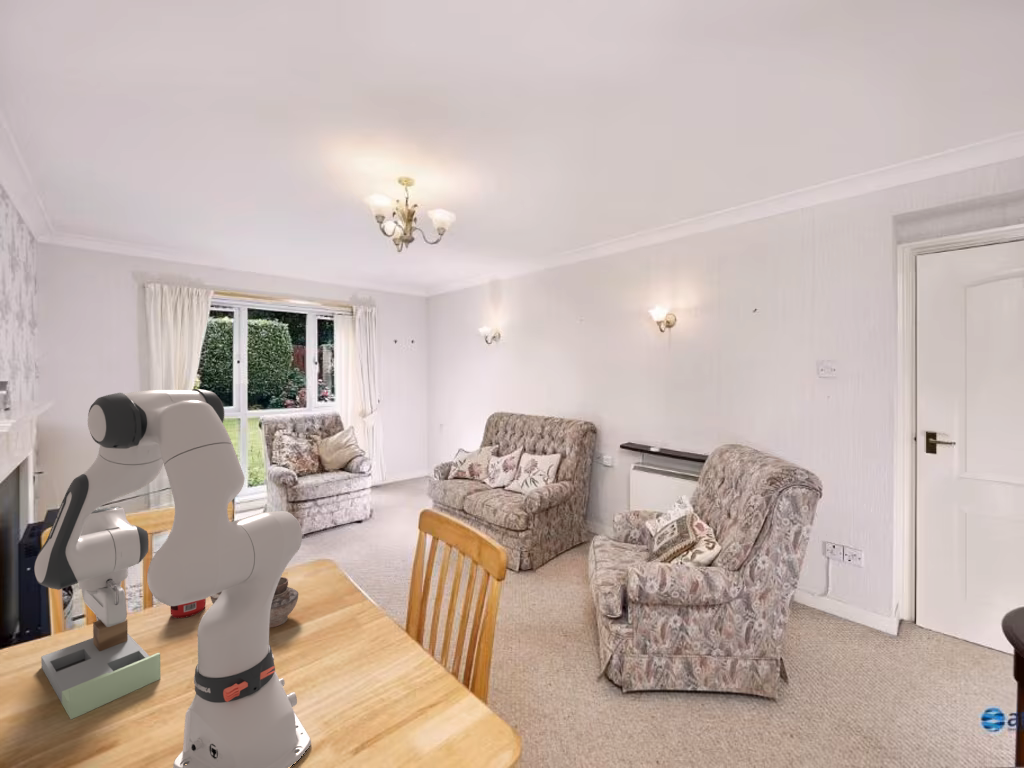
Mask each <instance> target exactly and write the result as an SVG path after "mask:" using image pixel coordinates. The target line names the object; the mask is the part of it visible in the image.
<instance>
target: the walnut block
mask: <svg viewBox="0 0 1024 768" xmlns="http://www.w3.org/2000/svg"><path fill="white" fill-rule="evenodd" d="M92 625H93V626H92V627H93V628H92V630H93V631H92V632H93V633H92V638H93V644H94V645H95V646H96V648H97V649H98V650H99V651H102V650H105V649H107V648H110V647H113V646H115V645H118V644H120V643H123V642H126V641H128V634H129V633H128V629H129V628H128V619H127V618H126V620H125V621H124V622H122V623H119V624H117V625H114V626H111V627H106V626H105V625H104V623H103V622H102V621H101V620H99V621H97V620H95V621H93V622H92Z"/></svg>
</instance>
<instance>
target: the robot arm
mask: <svg viewBox="0 0 1024 768" xmlns="http://www.w3.org/2000/svg"><path fill="white" fill-rule="evenodd" d="M224 421H225V407H224V403H223V401H222V400H221V398H220V397H219V396H218V395H217V394H216V393H215V392H213V391H211V390H206V389H199V388H194V389H190V390H189V389H188V390H187V389H148V390H138V391H133V392H127V393H123V392H117V393H112V394H106V395H103V396H100V397H98V398H97V399H96V400H95V401H94V402H93V403H92V404H91V405H90V407H89V409H88V414H87V427H88V430H89V435H90V436H91V438H92V440H93V441H94V442H95V443H96V444H98V445H99V448H98V454H97V457H96V458H95V460H94V462H93V463H92V464H91V465H90V466H89V467H88V469H86V471H84V473H82V474H80V475H78V476H77V477H75V478H73V480H72V481H71V483H70V485H69V486H68V488H67V490H66V493H65V495H64V497H63V499H62V502H61V504H60V507H58V508H59V509H58V511H57V513H56V516H55V519H54V521H53V524H52V525H51V528H50V531H49V534H48V536H47V538H46V540H45V542H44V544H43V545H42V547H41V549H40V550H39V552H38V553H37V555H36V559H35V562H34V575H35V579H36V581H37V584H39V585H41V586H43V587H45V588H48V589H53V590H57V591H59V590H63V589H65V588H68V587H71V586H74V585H76V584H77V585H78V588H79V589H81V594H82V600H83V603H84V604H86V606H87V607H88V608H89V609H90V610H91V611H92V612H93V613H94V615H95V616H96V621H99V620H101V621H102V622H103V623H104V625H105V626H106V627H111V626H114V625H117V624H119V623H122V622H124V621H125V620H126V619H127V617H128V611H127V599H126V598H127V597H126V592H125V590H124V588H123V587H122V582H123V581H125V580H126V579H127V578H128V577H129V568H131V567H134V566H136V565H138V564H140V563H141V562H142V561H143V560H144V559H145V557H146V555H147V554H148V553H149V534H148V531H147V530H145V529H144V528H142V527H141V526H138V525H135V524H131V523H130V522H129V521H128V518H127V516H126V511H125V508H124V507H122V506H117V505H116V506H110V507H104V508H101V507H102V506H104V505H106V504H108V503H110V502H112V501H115V500H117V499H119V498H121V497H123V496H126V495H129V494H132V493H134V492H137V491H140V490H141V489H143V488H145V487H146V486H148V485H149V484H150V483H152V482H153V481H154V480H155V479H156V478H157V477H158V475H159V474H160V472H161V470H162V468H163V467H164V469H165V472H166V475H167V479H168V482H169V486H170V488H171V493H172V497H173V503H174V519H173V523H172V527H171V529H170V531H169V534H168V536H167V538H166V539H165V541H164V542H163V544H162V545H161V547H159V549H158V550H157V551H156V552H155V553H154V556H153V557H152V558H151V560H150V562H149V566H148V569H147V575H146V576H147V577H146V579H147V580H146V581H147V585H148V588H149V591H150V592H151V594H152V595H153V597H154V598H155V599H156V600H158V602H160V603H161V604H163V605H167V606H169V607H171V606H177V605H181V604H186V603H190V602H194V601H198V600H202V599H205V598H206V599H208V598H211V597H210V596H212V595H214V594H217V593H219V592H221V591H222V593H221V594H220V596H219V597H218V599H217V600H216V601H215V603H214V604H213V603H212V605H211V606H210V607H209V608H208V609H207V610H206V611H205V613H204V614H203V616H202V617H201V619H200V621H199V624H198V627H197V664H196V667H195V670H194V677H193V683H194V691H195V695H194V697H193V699H192V702H191V704H190V705H189V706H188V708H187V710H186V712H185V718H184V730H183V731H184V732H183V744H182V745H183V747H182V750H181V752H180V753H179V754H178V756H177V757H176V758H175V760H174V761H173V764H172V765H173V766H172V768H288V767H290V766H291V765H293V764H294V763H295V762H296V761H298V760H299V759H300V758H301V756H302V755H303V754H304V753H305V751H306V750H307V749H308V748H309V749H310V747H311V745H310V744H312V740H311V737H310V734H309V733H308V732H307V730H306V729H305V726H304V725H303V724H302V722H301V720H300V719H299V717H298V715H297V714H296V712H295V711H294V708H293V707H295V706H296V705H297V703H298V699H297V694H296V692H295V691H292V692H290V693H288V694H287V693H286V691H285V688H284V686H285V678H284V677H282V678H279V676H278V674H277V672H276V666H275V662H274V660H275V658H274V654H273V650H272V647H271V645H270V627H269V622H270V609H271V604H272V600H273V597H274V593H275V590H276V588H277V585H278V583H279V580H280V578H281V577H283V573H284V572H285V570H286V568H287V566H288V565H289V563H290V562H291V560H292V559H293V557H294V556H295V555H297V553H298V552H299V551H300V548H301V546H302V541H303V530H302V526H301V523H300V521H299V520H298V519H297V517H295V516H294V515H293V513H291V512H289V511H286V510H276V511H273V510H272V511H265V512H259V513H255V514H253V515H249V516H245V517H243V518H239V519H236V520H233V521H230V519H229V514H228V512H229V511H228V509H229V508H228V507H229V503H231V502H232V501H234V499H235V498H236V497H237V496H238V495H239V494H240V493H241V491H242V490H243V488H244V485H245V475H244V472H243V469H242V466H241V463H240V461H239V458H238V456H237V454H236V450H235V447H234V445H233V442H232V440H231V438H230V435H229V433H228V431H227V429H226V427H225V425H224ZM309 746H310V747H309ZM309 749H308V750H309ZM308 750H307V751H308ZM297 752H298V753H297ZM305 754H306V753H305ZM305 754H304V755H305ZM301 759H302V758H301ZM301 759H300V760H301ZM300 760H299V761H300ZM299 761H298V762H299ZM185 764H187V765H185ZM293 766H294V765H293Z"/></svg>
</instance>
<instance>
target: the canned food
mask: <svg viewBox="0 0 1024 768" xmlns="http://www.w3.org/2000/svg"><path fill="white" fill-rule="evenodd" d="M206 603H207V598H205V599H202V600H198V601H194V602H190V603H186V604H181V605H177V606H170V615H171V617H172V618H174V619H184V618H189V617H192V616H195V615H197V614H199V613H201V612H203V610H204V609H205V607H206Z"/></svg>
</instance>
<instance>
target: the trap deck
mask: <svg viewBox="0 0 1024 768" xmlns="http://www.w3.org/2000/svg"><path fill="white" fill-rule="evenodd" d="M40 659H41V664H40V665H41V669H42V672H44V675H45V676H46V678H47V679H48V682H49V683H50V685H51V688H52V689H53V690H54V692H55V694H56V697H58V700H59V701H60V703H61V705H62V707H63V708H64V711H65V712H66V714H67V715H68V717H69V719H70V720H73V719H75V718H78V717H80V716H83V715H84V714H87V713H89V712H91V711H93V710H95V709H97V708H99V707H102V706H104V705H106V704H108V703H111V702H112V701H113V702H114V701H115V700H117V699H119V698H122V697H123V696H126V695H129V694H130V693H133V692H135V691H137V690H139V689H141V688H143V687H146V686H148V685H150V684H152V683H155V682H157V681H159V680H161V653H160V652H157V653H154V654H151V655H149V653H148V652H146V650H144V649H143V647H142V646H141V645H140V644H138V643H137V642H136V640H134V639H133V637H132V636H131V635H130V633H128V641H126V642H123V643H120V644H118V645H115V646H113V647H110V648H107V649H105V650H102V651H99V650H98V649H97V648H96V646H95V645H94V644H93V637H92V638H89V639H86V640H83V641H80V642H78V643H75V644H72V645H70V646H69V645H68V646H66V647H63V648H61V649H59V650H55V651H53V652H50V653H47V654H45V655H41V658H40Z"/></svg>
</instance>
